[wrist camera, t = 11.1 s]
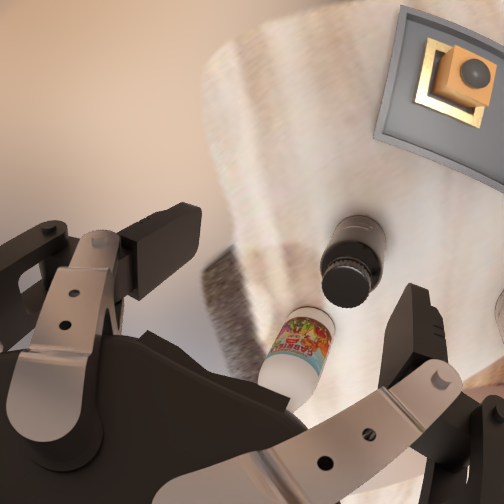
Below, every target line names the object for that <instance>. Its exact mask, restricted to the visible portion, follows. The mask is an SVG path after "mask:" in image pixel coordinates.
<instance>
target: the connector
mask: <svg viewBox="0 0 504 504" xmlns="http://www.w3.org/2000/svg"><path fill="white" fill-rule="evenodd" d="M496 67H497V65H496V64H494V63H492V62H490V61H488V60H487V59H485V58H483V57H481V56H478V55H476V54H474V53H472V52H470V51H468V50H466V49H464V48H461V47H459V46H457V45H454V46H453V47H452V48H451V49H450V50H449V51H448V52H447V53H446V54H445V55H444V56H443V57H442V58H441V59H440V60H439V61H438V62H437V63H436V68H435V73H434V77H433V82H432V86H431V90H430V94H431V95H434V96H436V97H438V98H441V99H443V100H445V101H448V102H450V103H452V104H455V105H457V106H459V107H461V108H465V107H488V106H489V102H490V98H491V93H492V88H493V83H494V78H495V73H496Z"/></svg>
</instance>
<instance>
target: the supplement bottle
mask: <svg viewBox="0 0 504 504" xmlns="http://www.w3.org/2000/svg"><path fill="white" fill-rule="evenodd" d="M384 256H385V236H384V233H383V230H382V229H381V227H380V226H379V225H378V224H377V223H376V222H375V221H374V220H372V219H370V218H368V217H364V216H352V217H349V218H347V219H345V220H343V221H342V222H341V223H340V224H339V225H338V226H337V228H336V230H335V231H334V233H333V235H332V237H331V239H330V241H329V243H328V245H327V247H326V249H325V251H324V253H323V255H322V258H321V262H320V272H321V276H322V279H323V280H322V289H323V293H324V295H325V296H326V298H327V299H328V300H329V301H330V302H331V303H333V304H334V305H336V306H338V307H342V308H353V307H356V306H359V305H360V304H361V303H363V302H364V301H365V300H366V299H367V297H368V296H369V293H371V292H372V291H373V290H374V289H375V288H376V287H377V286H378V284H379V283H380V281H381V278H382V274H383V266H384Z"/></svg>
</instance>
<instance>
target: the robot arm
mask: <svg viewBox="0 0 504 504" xmlns="http://www.w3.org/2000/svg"><path fill="white" fill-rule="evenodd" d="M201 217H202V211H201V208H200V207H197V206H194V205H191V204H188V203H185V202H181V203H179V204H177V205H175V206H173V207H171V208H169V209H167V210H164V211H159V212H155V213H153V214H152V215H150V216H147V217H146V218H144V219H142V220H140V221H139V222H136V223H134V224H132V225H130V226H129V227H127V228H125V229H123V230H121V231H119V232H118V233H115V232H113V231H110V230H95V231H91V232H88V233H86V234H84V235H83V236H82V237H81V239H79V238H74V237H70V236H68V229H67V225H66V223H64V222H62V221H57V220H53V221H47V222H43V223H41V224H39V225H37V226H35V227H33V228H32V229H29V230H27V231H26V232H24V233H22V234H20V235H18V236H17V237H15V238H13V239H11V240H9V241H8V242H6V243H4V244H3V245H1V246H0V504H341V503H340V500H341V499H343V498H344V497H346V496H347V495H349V494H350V493H351V492H353V491H354V490H355V489H357V488H359V487H360V486H361V485H363V484H364V483H365V482H367V481H368V480H369V479H371V478H372V477H373V476H374V475H376V474H377V473H378V472H379V471H380V470H382V469H383V468H384V467H386V466H387V465H388V464H389V463H390V462H392V461H393V460H394V459H395V458H396V457H398V456H399V455H400V454H401V453H402V452H403V451H404V450H405V449H407V448H408V447H411V448H412V449H414V450H416V451H417V452H419V453H421V454H422V455H424V456H425V457H427V462H426V468H425V474H424V479H423V484H422V489H421V494H420V499H419V503H418V504H504V399H503V398H501V397H499V396H497V395H490V396H487V397H486V398H485V399H484V400H483V401H482V402H481V403H478V402H477V401H475V400H474V399H472V398H470V397H469V396H467V395H466V394H464V393H463V392H462V391H461V390H462V381H461V378H460V376H459V374H458V373H457V371H456V370H455V369H454V368H453V367H452V366H451V365H449V364H448V356H447V347H446V339H445V332H444V325H443V318H442V317H441V315H440V313H439V312H438V310H437V308H435V307H433V306H431V304H430V297H429V291H428V290H427V289H425V288H422V287H420V286H417V285H414V284H412V283H409V284H408V285H407V286H406V288H405V290H404V292H403V294H402V296H401V298H400V300H399V302H398V304H397V306H396V307H395V309H394V311H393V313H392V315H391V317H390V319H389V321H388V324H387V327H386V330H385V336H384V346H383V354H382V362H381V370H380V377H379V384H378V389H377V390H376V391H374V392H373V393H371V394H370V395H368V396H366V397H365V398H363V399H362V400H360V401H358V402H357V403H355V404H353V405H352V406H350V407H348V408H347V409H345V410H343V411H342V412H340V413H338V414H336V415H335V416H333V417H331V418H329V419H327V420H326V421H324V422H322V423H320V424H318V425H316V426H314V427H312V428H311V429H309V430H308V428H307V427H306V426H305V425H304V424H303V423H302V422H301V421H300V420H299V419H298V418H297V417H296V416H295V415H294V414H292V413H291V412H290V411H288V410H287V409H286V408H287V406H288V403H289V401H290V399H291V398H289V397H287V396H284V395H282V394H279V393H277V392H275V391H272V390H270V389H267V388H265V387H263V386H260V385H258V384H256V383H253V382H250V381H245V380H240V379H236V378H232V377H227V376H223V375H219V374H215V373H211V372H209V371H207V370H206V369H204V368H203V367H202V366H201V365H200V364H198V363H197V362H196V361H195V360H193V359H192V358H191V357H190V356H189V355H188V354H186V353H185V352H184V351H183V350H182V349H181V348H179V347H178V346H176V345H174V344H172V343H170V342H169V341H167V340H165V339H163V338H161V337H159V336H157V335H156V334H154V333H152V332H150V331H148V330H147V331H146V332H145V333H144V334H143V335H142V336H141V337H140V338H135V337H130V336H123V335H122V323H123V312H124V297H125V296H126V295H129V296H131V297H133V298H135V299H136V300H138V301H140V300H141V299H142V298H144V297H145V296H146V295H147V294H148V293H150V292H151V291H152V290H153V289H154V288H156V287H157V286H158V285H160V284H161V283H162V282H163V281H164V280H166V279H167V278H168V277H169V276H171V275H172V274H173V273H174V272H176V271H177V270H178V269H179V268H181V267H182V266H183V265H184V264H186V263H187V262H188V261H189V260H191V259H192V258H193V257H194V255H195V253H196V252H197V249H198V245H199V237H200V227H201ZM37 263H39V268H40V272H41V276H42V279H41V280H40V281H38V282H37V283H35V284H34V285H33V286H31V287H30V288H28V289H27V290H26V291H25V292H23V293H22V294H21V293H20V290H19V287H18V281H19V278H20V276H21V275H22V274H23V273H24V272H25V271H27V270H28V269H30V268H31V267H33V266H34V265H36V264H37ZM495 318H496V321H497V324H498V327H499V330H500V333H501V337H502V340H503V343H504V291H503V293H502V294H501V296H500V297H499V299H498V302H497V305H496V308H495ZM34 328H35V330H34V333H33V336H32V339H31V342H30V345H29V347H28V348H27V349H21V350H15V351H8V350H9V349H10V348H12V347H13V346H14V345H15V344H16V343H17V342H18V341H20V340H21V339H22V338H23V337H24V336H25V335H27V334H28V333H29V332H30V331H31V330H32V329H34ZM7 351H8V352H7ZM469 465H470V467H469V478H468V481H467V470H468V466H469ZM466 481H467V484H466Z"/></svg>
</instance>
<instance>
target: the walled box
mask: <svg viewBox="0 0 504 504" xmlns="http://www.w3.org/2000/svg"><path fill="white" fill-rule="evenodd" d="M427 38H431V39H433V40H436V41H439V42H441V43H444V44H446V45H449V46H451V47H453V46H454V45H457V46H459V47H461V48H464V49H466V50H468V51H470V52H472V53H474V54H476V55H478V56H481V57H483V58H485V59H487V60H488V61H490V62H492V63H494V64H496V65H497V67H496V73H495V78H494V83H493V88H492V93H491V98H490V102H489V106H488V107H485V108H484V112H483V117H482V121H481V125H480V129H478V128H473V127H470V126H468V125H465V124H463V123H461V122H459V121H456V120H454V119H452V118H450V117H447V116H445V115H442V114H440V113H438V112H435V111H433V110H430V109H427V108H425V107H422V106H420V105H417V104H414V103H412V101H413V97H414V92H415V88H416V83H417V79H418V74H419V69H420V64H421V58H422V53H423V47H424V44H425V42H426V40H427ZM439 60H440V58H438V57H435V56H434V62H433V67H432V72H431V77H430V82H429V87H428V91H427V96H428V97H430V98H433V99H436V100H438V101H441V102H443V103H445V104H448V105H450V106H452V107H455V108H457V109H459V110H462V111H464V112H466V111H467V107H465V108H461V107H459V106H457V105H455V104H452V103H450V102H448V101H445V100H443V99H441V98H438V97H436V96H434V95H431V94H430V90H431V86H432V82H433V77H434V73H435V68H436V63H437V62H438V61H439ZM373 139H376V140H379V141H382V142H385V143H388V144H391V145H394V146H396V147H399V148H402V149H405V150H407V151H410V152H413V153H415V154H418V155H420V156H423V157H425V158H428V159H430V160H433V161H435V162H438V163H440V164H443V165H445V166H447V167H450V168H452V169H454V170H456V171H459V172H461V173H463V174H465V175H467V176H470V177H472V178H474V179H476V180H478V181H480V182H482V183H484V184H486V185H488V186H490V187H492V188H494V189H496V190H498V191H500V192H502V193H504V46H502V45H500V44H498V43H496V42H494V41H492V40H490V39H488V38H486V37H484V36H482V35H480V34H478V33H476V32H474V31H471V30H469V29H467V28H465V27H462V26H460V25H458V24H455V23H453V22H450V21H448V20H445V19H442V18H440V17H437V16H434V15H431V14H429V13H426V12H423V11H420V10H417V9H414V8H410V7H407V6H404V5H400V11H399V18H398V24H397V30H396V35H395V41H394V46H393V52H392V57H391V62H390V67H389V72H388V76H387V81H386V86H385V90H384V95H383V99H382V103H381V107H380V112H379V116H378V120H377V124H376V128H375V132H374V136H373Z"/></svg>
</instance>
